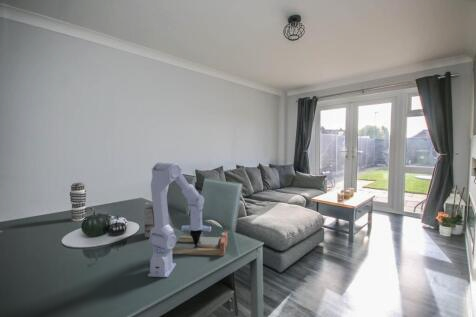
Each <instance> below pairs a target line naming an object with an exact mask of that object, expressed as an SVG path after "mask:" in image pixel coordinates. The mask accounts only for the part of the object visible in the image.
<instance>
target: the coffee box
mask: <svg viewBox="0 0 476 317" xmlns="http://www.w3.org/2000/svg"><path fill="white" fill-rule="evenodd" d="M153 227H155V224H154V213H153V204H152V205H150V206H148V207H145V208H144V237H145V238H150V230H151V229H152V228H153Z"/></svg>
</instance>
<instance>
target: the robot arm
mask: <svg viewBox="0 0 476 317" xmlns="http://www.w3.org/2000/svg"><path fill="white" fill-rule="evenodd" d="M182 169H183V168H182V167H180V165H179V164H178V163H176V162H171V163H169V162H161V161H159V162H157V163H155V165H154V166H152V168H151V175H152V176H151V177H152V178H151V182H150V190H151V200H152V205H153V213H154V224H155V227H153V228H152V229H151V230H150V237H148V238H149V240H148V241H149V242H148V243H149V245H150V246H152V248H151V249H153V253H152V257H151V258H150V260H149V273H148V274H147V276H148V277H151V278H152V277H153V278H154V277H155V278H168V277H169V276H170V274H171V273H172V271H173V270H174V268H175V267H176V266H177V263H175V262H173V254H172V249H173V248H174V247H176V244H177V235H175V229H174V228H173V227H172V226H171V225H170V219H169V208H168V196H167V187H168V186H169V185H171V184H172V183H173V182H175V183H176V184H177V185H178V186H179V188H181V193H182V195H183V196H184V197H185V198H186V201H187V204H188V205H189V206H190V207H189V209H190V210H189V211H190V212H189V213H190V219H189V221H190V225H182V226H181V231H182V232H184V231H190V232H189V233H190V236H191V237H192V238H193V240H194V242H193V243H194V246H196V247H197V243H198V241H199V238H200V237H201V235H202V233H203V232H208V233H210V232H211V231H212V226H207V225H204V224H203V209H204V203H205V197H204V195H202V194H200V193H199V191H198V190H197V189H196V188H195V186H194V184H191V183H188V181H187V179H186V178H185V176H184V174H183V173H182Z"/></svg>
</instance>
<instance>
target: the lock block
mask: <svg viewBox="0 0 476 317" xmlns="http://www.w3.org/2000/svg"><path fill="white" fill-rule="evenodd" d="M200 237H201V238H200V240H199V241H198V243H197V246H196V248H211V249H220V238H221V236H219V237H218V236H200Z"/></svg>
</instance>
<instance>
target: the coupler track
mask: <svg viewBox="0 0 476 317" xmlns="http://www.w3.org/2000/svg"><path fill="white" fill-rule="evenodd" d="M228 234H229V232H228V230H224V231H223V234H222V237H220V247H219V249H211V248H197V247H185V246H183V247H179V246H174V248H173V249H172V255H173V254H174V255H198V256H219V257H224V256H225V253H226V250H227V246H228V242H229V240H228V239H229V236H228ZM201 237H202V236H200V238H201ZM200 238H199V240H200ZM179 242H180V243H194V240H193V238H192V236H191V235H190V236H187V235H183V236H182V235H181V236H179Z"/></svg>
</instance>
